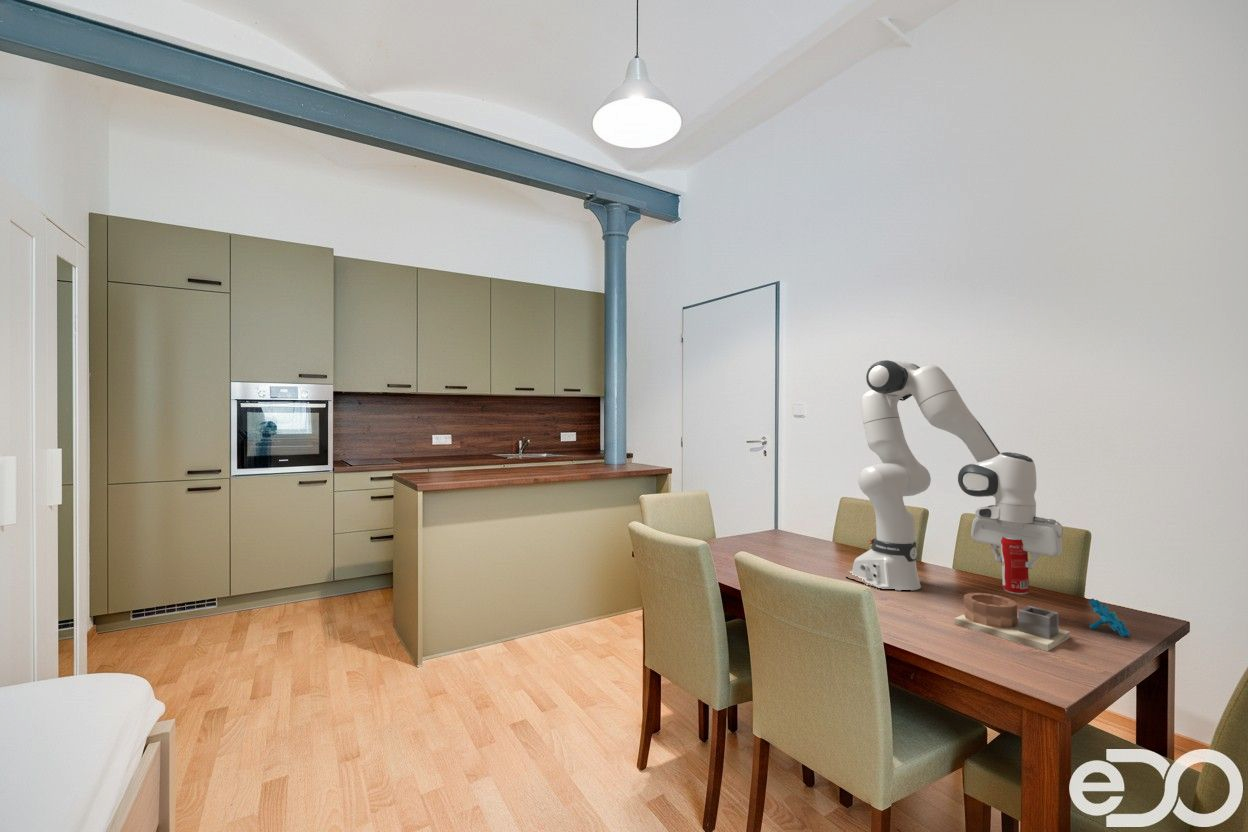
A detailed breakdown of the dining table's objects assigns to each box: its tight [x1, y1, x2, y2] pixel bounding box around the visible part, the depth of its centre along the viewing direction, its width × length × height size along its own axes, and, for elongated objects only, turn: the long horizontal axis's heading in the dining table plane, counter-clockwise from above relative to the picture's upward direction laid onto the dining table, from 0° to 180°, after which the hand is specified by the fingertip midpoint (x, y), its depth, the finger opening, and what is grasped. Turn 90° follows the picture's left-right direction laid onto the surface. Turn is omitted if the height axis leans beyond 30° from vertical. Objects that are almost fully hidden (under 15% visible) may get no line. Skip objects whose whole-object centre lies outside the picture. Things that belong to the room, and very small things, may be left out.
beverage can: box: [1000, 536, 1030, 595], centre depth 145 cm, size 6×6×15 cm
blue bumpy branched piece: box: [1089, 598, 1131, 637], centre depth 135 cm, size 11×6×10 cm
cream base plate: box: [953, 592, 1071, 652], centre depth 135 cm, size 20×14×6 cm
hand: (1014, 565), depth 145 cm, fingers closed on beverage can, 6 cm apart
